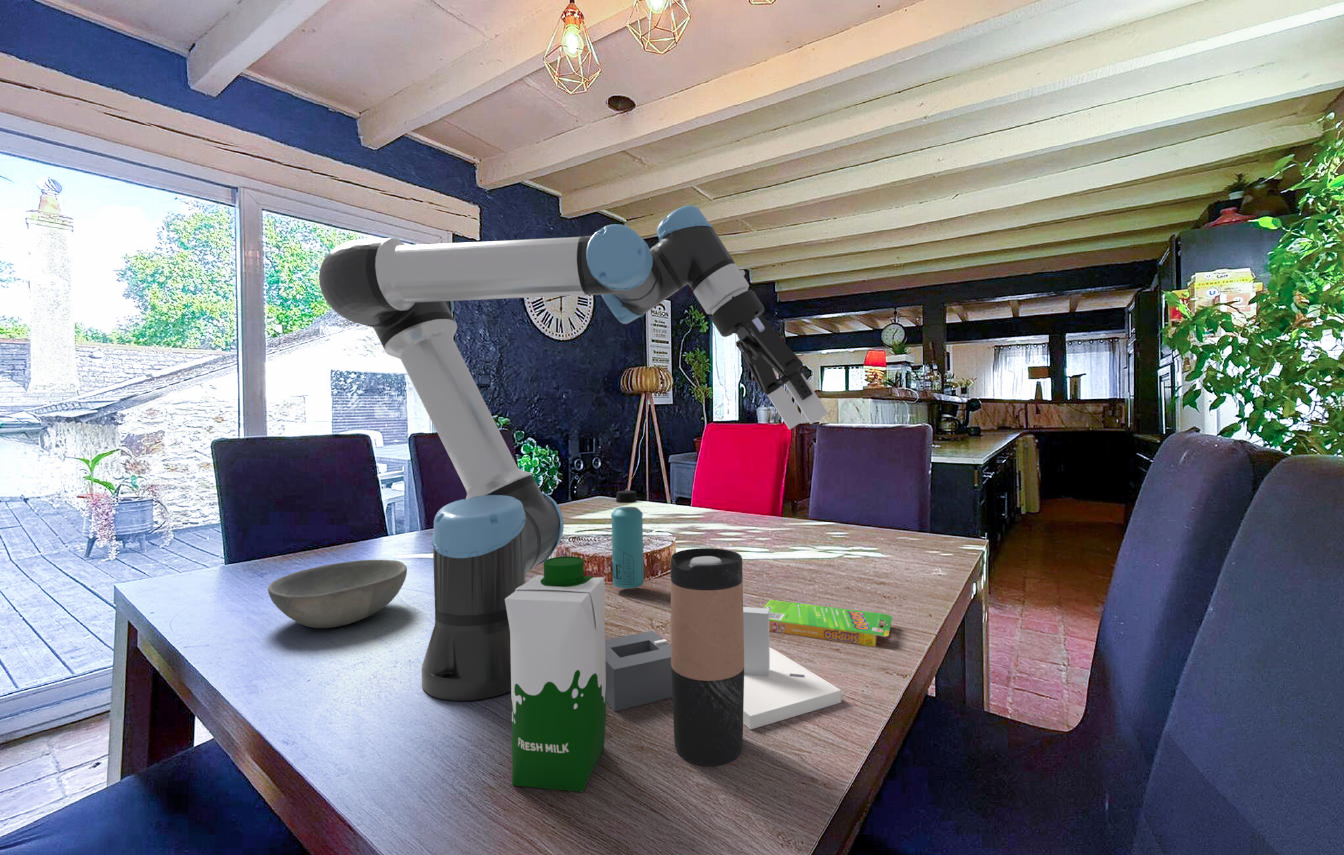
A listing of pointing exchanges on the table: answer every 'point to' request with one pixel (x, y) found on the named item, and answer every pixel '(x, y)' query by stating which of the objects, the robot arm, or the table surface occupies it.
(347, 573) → the bowl
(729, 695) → the travel mug
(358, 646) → the table surface
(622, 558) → the beverage bottle
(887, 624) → the game box
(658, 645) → the gray slotted box
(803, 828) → the table surface
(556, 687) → the milk carton
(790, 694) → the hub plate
